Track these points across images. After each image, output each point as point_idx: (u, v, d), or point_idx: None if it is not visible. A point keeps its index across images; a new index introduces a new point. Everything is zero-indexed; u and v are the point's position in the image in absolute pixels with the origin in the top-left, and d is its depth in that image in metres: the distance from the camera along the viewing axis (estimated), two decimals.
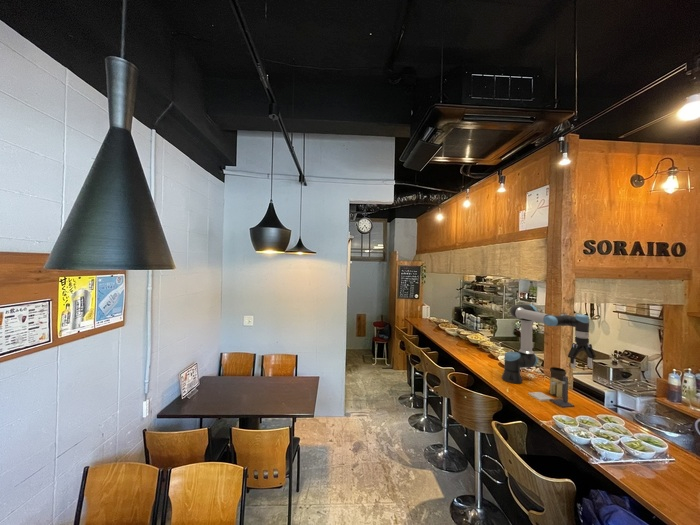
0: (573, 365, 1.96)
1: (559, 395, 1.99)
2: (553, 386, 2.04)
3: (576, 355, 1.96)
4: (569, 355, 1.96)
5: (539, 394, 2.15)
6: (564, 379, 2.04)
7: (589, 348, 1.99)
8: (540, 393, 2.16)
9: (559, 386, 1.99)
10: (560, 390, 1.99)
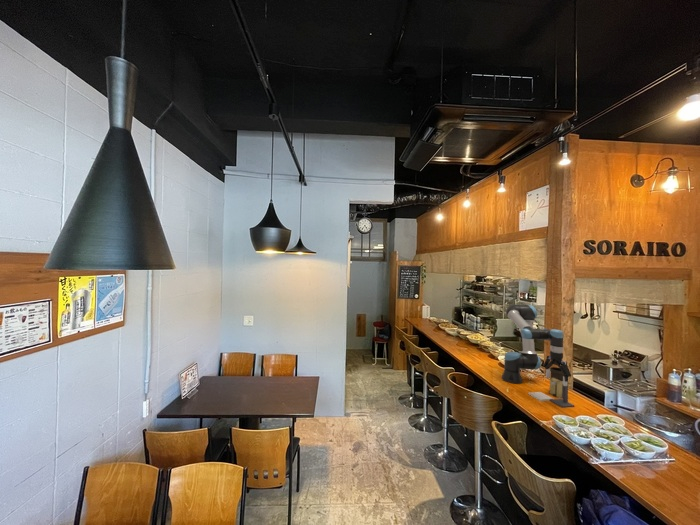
0: None
1: (559, 395, 1.99)
2: (553, 386, 2.04)
3: (548, 366, 2.07)
4: None
5: (539, 394, 2.15)
6: None
7: None
8: (540, 393, 2.16)
9: (559, 386, 1.99)
10: (560, 390, 1.99)
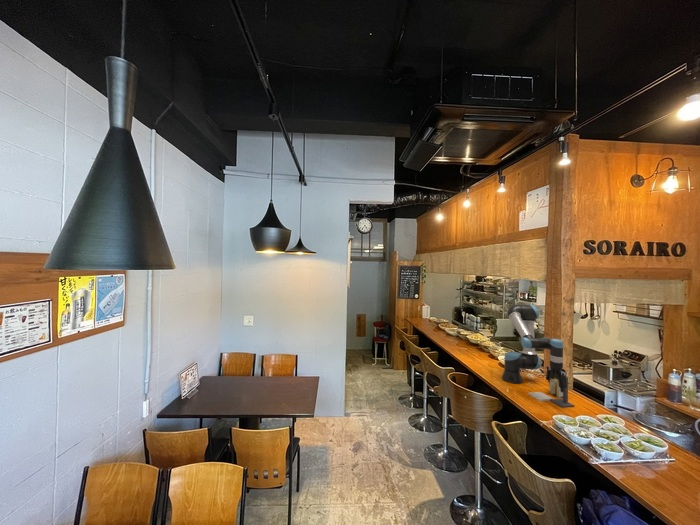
0: None
1: None
2: (553, 386, 2.04)
3: None
4: None
5: (539, 394, 2.15)
6: None
7: None
8: (540, 393, 2.16)
9: (559, 386, 1.99)
10: None
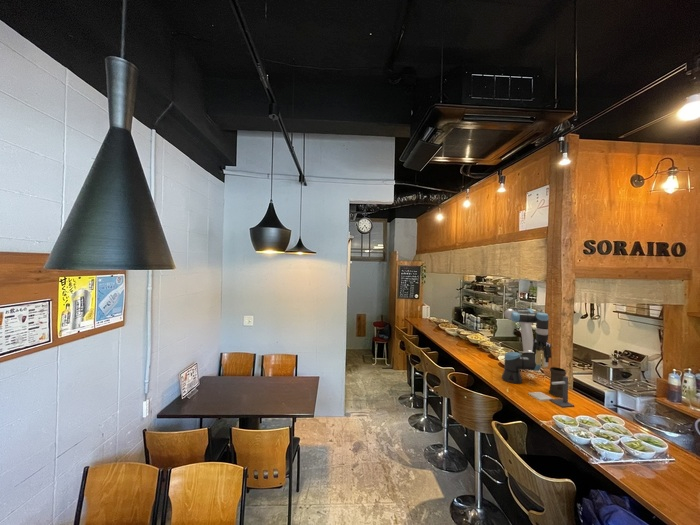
0: None
1: None
2: (539, 357, 2.14)
3: None
4: None
5: (539, 394, 2.15)
6: (564, 379, 2.04)
7: None
8: (540, 393, 2.16)
9: None
10: None
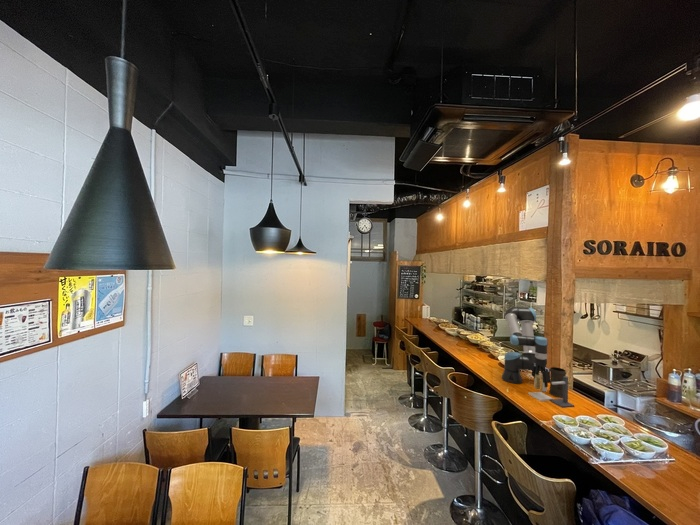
0: None
1: None
2: (538, 382, 2.14)
3: None
4: None
5: (539, 394, 2.15)
6: (564, 379, 2.04)
7: None
8: (540, 393, 2.16)
9: (543, 381, 2.09)
10: None
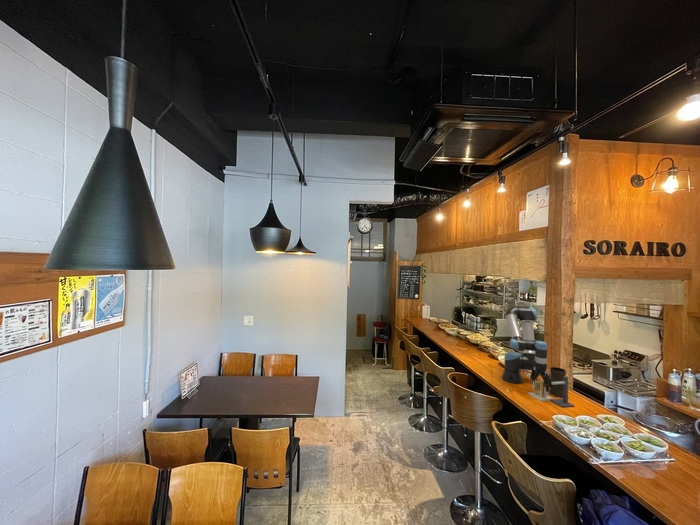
0: None
1: (543, 396, 2.09)
2: (538, 387, 2.15)
3: (534, 377, 2.17)
4: None
5: (539, 394, 2.15)
6: (564, 379, 2.04)
7: None
8: (540, 393, 2.16)
9: (543, 387, 2.09)
10: None
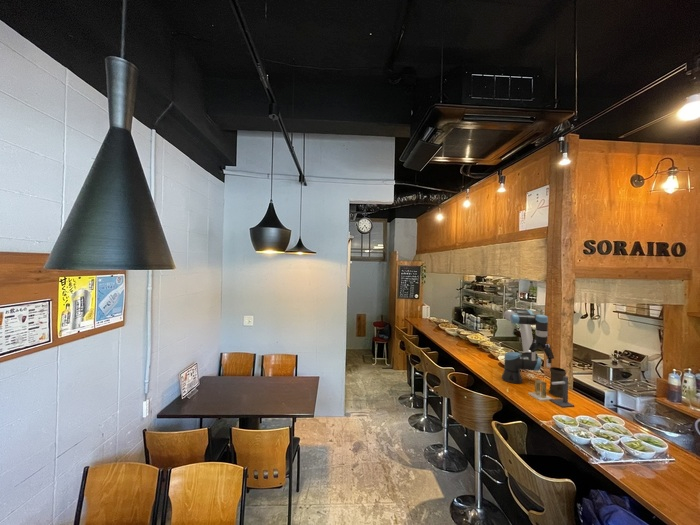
0: None
1: (543, 396, 2.09)
2: (538, 387, 2.15)
3: (533, 349, 2.20)
4: None
5: (539, 394, 2.15)
6: (564, 379, 2.04)
7: None
8: (540, 393, 2.16)
9: (543, 387, 2.09)
10: (544, 391, 2.09)
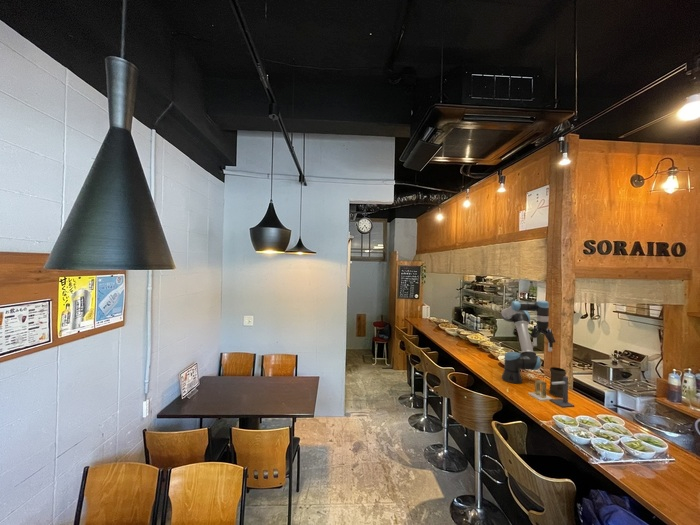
0: None
1: (543, 396, 2.09)
2: (538, 387, 2.15)
3: (535, 335, 2.24)
4: None
5: (539, 394, 2.15)
6: (564, 379, 2.04)
7: None
8: (540, 393, 2.16)
9: (543, 387, 2.09)
10: (544, 391, 2.09)
